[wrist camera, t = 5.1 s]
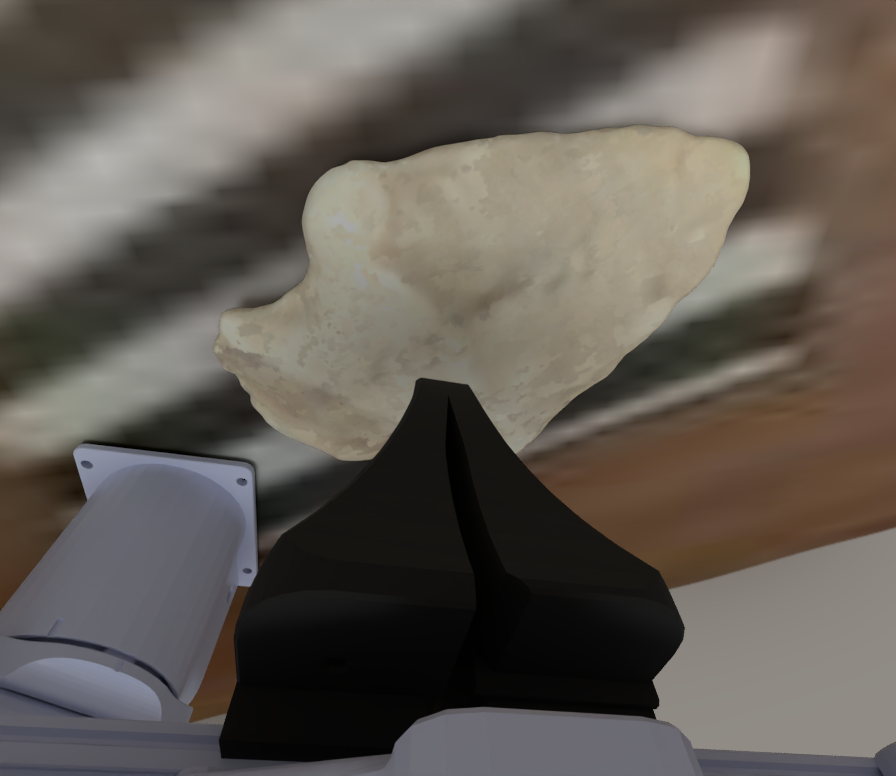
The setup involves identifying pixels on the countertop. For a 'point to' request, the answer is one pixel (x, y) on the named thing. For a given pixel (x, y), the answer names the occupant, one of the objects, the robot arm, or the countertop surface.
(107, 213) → the countertop surface
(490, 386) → the rock
